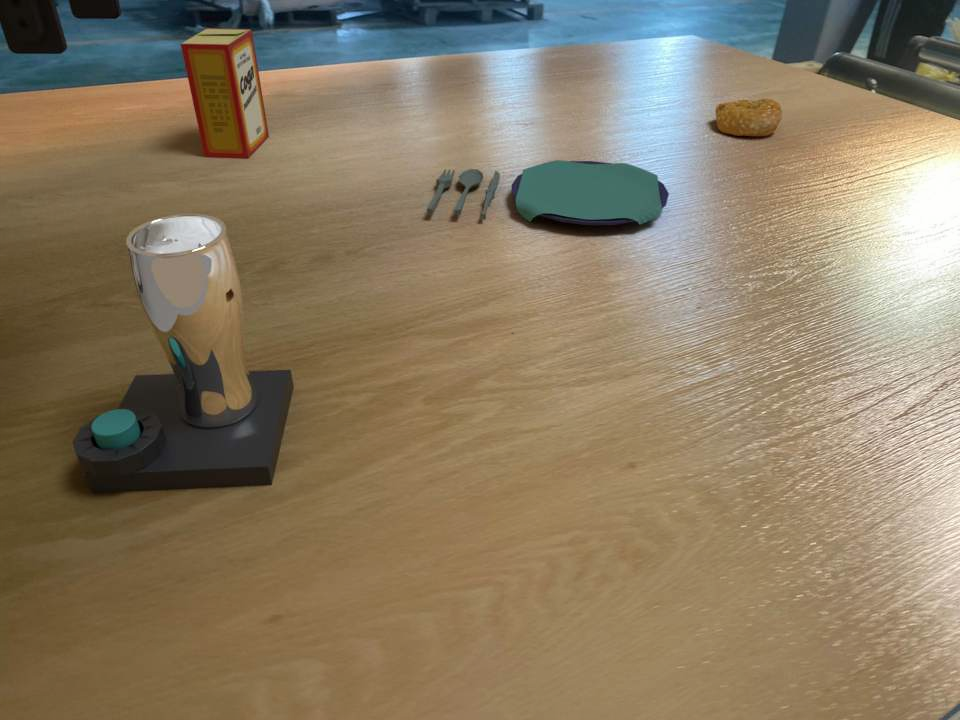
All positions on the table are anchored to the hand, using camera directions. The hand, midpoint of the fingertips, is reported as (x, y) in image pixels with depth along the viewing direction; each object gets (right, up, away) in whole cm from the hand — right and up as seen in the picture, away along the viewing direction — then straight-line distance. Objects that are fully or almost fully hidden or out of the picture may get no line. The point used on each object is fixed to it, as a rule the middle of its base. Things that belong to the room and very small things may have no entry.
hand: (71, 33), depth 49 cm
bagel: (+69, +15, +72) cm, 101 cm away
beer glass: (+6, -25, +12) cm, 28 cm away
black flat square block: (+4, -27, +11) cm, 30 cm away
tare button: (0, -27, +6) cm, 28 cm away
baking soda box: (-10, +11, +65) cm, 67 cm away
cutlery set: (+35, -1, +49) cm, 61 cm away
